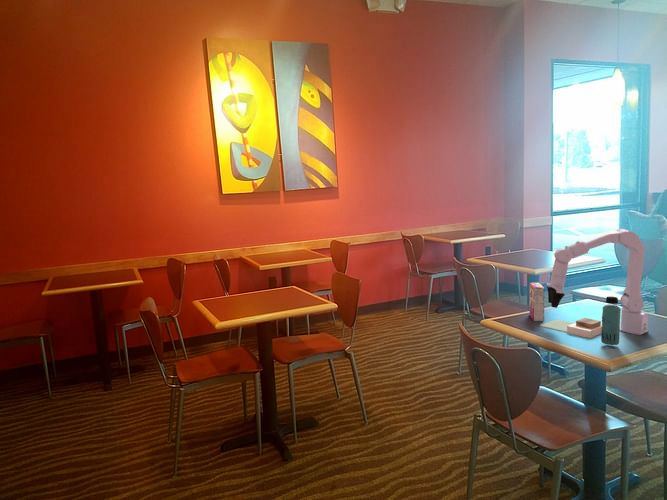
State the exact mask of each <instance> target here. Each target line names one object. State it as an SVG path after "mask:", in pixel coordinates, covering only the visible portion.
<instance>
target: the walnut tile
mask: <svg viewBox="0 0 667 500" xmlns="http://www.w3.org/2000/svg"><path fill="white" fill-rule="evenodd" d="M575 323H576V325H577V326H581V327H586V328H590V329H593V328H596V327H599V326H601V323H602V320H597V319H593V318H587V317H583V318H580V319H578V320H576V321H575Z"/></svg>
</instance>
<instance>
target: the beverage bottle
mask: <svg viewBox="0 0 667 500" xmlns="http://www.w3.org/2000/svg"><path fill="white" fill-rule="evenodd" d="M605 299H606V300H605V303H607V304H605V305H604V306H602V314H601V323H602V327H601V328H602V330H601V332H602V333H601V335H600V337H601V338H600V340H601V344H605V345H606V346H608V345H609V346H619V344H620V334H621V331H620V327H621V312H622V308H620V307H619V306H618V305H616V304H618V303H619V298H618V297H616V296H606V298H605Z"/></svg>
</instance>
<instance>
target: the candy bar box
mask: <svg viewBox="0 0 667 500" xmlns="http://www.w3.org/2000/svg"><path fill="white" fill-rule="evenodd" d="M528 286H529V291H528V293H529V295H528V296H529V302H528V303H529V304H528V305H529V317H530V318H531V319H532V321H533V322H544V321H545V287H544V285H542V284H541V283H540V282H529V285H528Z"/></svg>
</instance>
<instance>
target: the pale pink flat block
mask: <svg viewBox="0 0 667 500" xmlns="http://www.w3.org/2000/svg"><path fill="white" fill-rule="evenodd" d="M573 323H574V324H571V325H568V326H567V332H566V334H570V335H576V336H579V337H583V338H588V339H591V338H594V337H596V336H598V335H602V332H601V330H602V328H601V327H602V322H601V326H599V327H596V328H593V329H590V328H586V327H581V326H577V325H576V322H573Z"/></svg>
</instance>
